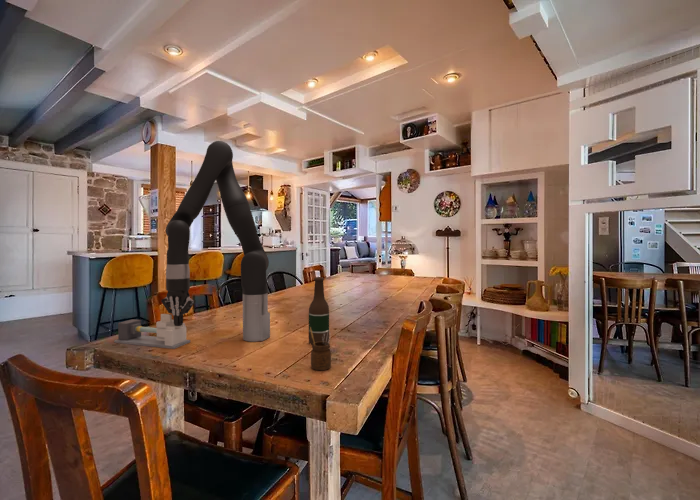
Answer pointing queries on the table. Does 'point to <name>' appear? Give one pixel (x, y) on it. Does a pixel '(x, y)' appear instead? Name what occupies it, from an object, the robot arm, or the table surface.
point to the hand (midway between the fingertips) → (178, 325)
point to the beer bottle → (319, 314)
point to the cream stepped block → (163, 325)
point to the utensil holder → (320, 354)
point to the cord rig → (132, 335)
